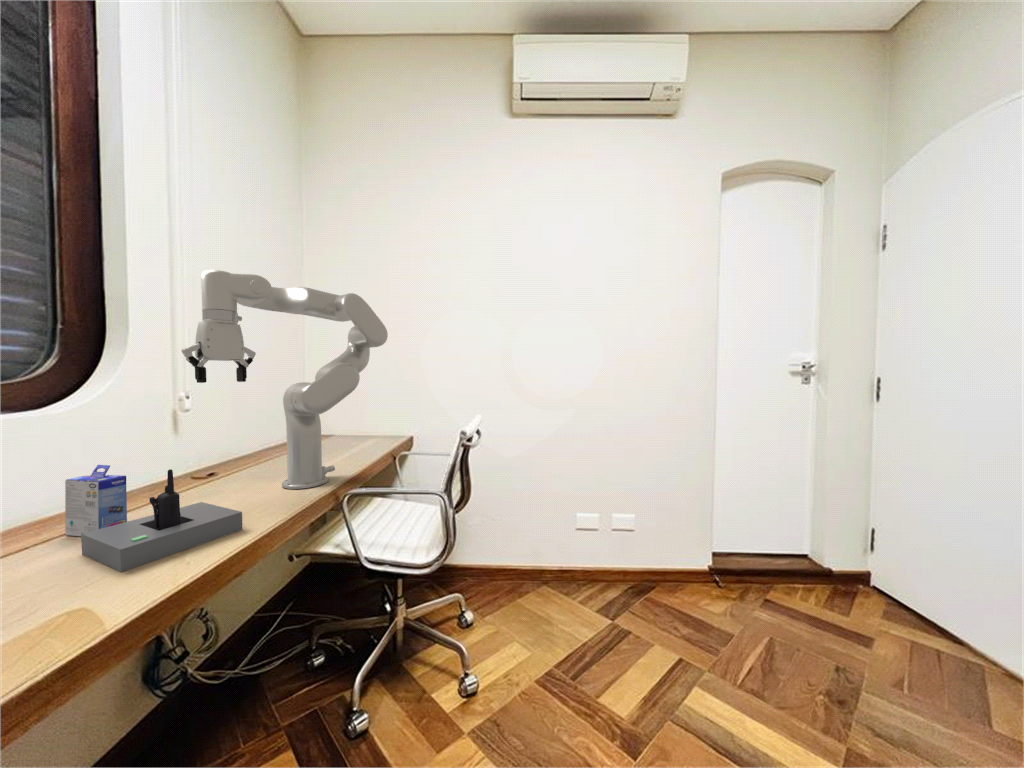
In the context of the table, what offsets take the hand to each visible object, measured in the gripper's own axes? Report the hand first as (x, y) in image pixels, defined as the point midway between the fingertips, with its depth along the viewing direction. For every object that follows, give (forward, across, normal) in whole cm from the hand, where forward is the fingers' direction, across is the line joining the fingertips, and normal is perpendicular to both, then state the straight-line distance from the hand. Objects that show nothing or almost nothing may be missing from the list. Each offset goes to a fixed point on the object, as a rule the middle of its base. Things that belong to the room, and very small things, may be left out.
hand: (222, 382), depth 104 cm
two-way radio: (+32, +20, +17) cm, 42 cm away
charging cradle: (+32, +20, +17) cm, 42 cm away
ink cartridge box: (+32, +24, -3) cm, 41 cm away
